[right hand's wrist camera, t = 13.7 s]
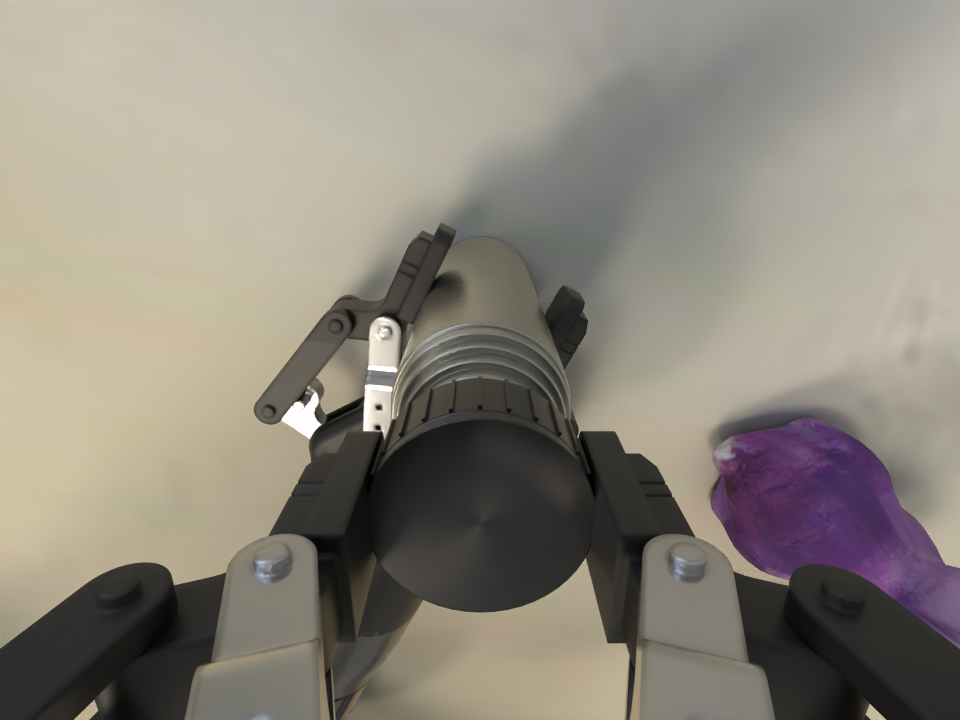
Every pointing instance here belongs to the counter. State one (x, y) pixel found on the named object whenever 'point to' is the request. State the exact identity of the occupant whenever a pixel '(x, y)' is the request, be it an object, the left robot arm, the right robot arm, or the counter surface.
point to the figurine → (830, 516)
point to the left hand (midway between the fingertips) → (510, 263)
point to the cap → (481, 497)
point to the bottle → (481, 328)
